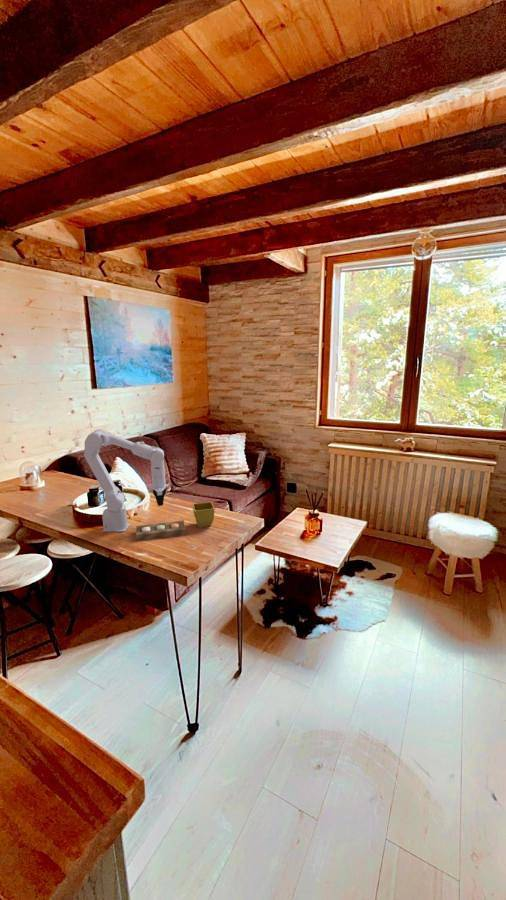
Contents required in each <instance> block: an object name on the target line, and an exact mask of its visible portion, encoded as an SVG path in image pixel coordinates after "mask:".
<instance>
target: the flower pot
mask: <svg viewBox="0 0 506 900" xmlns="http://www.w3.org/2000/svg"><path fill="white" fill-rule="evenodd" d="M215 509H216V508H215V507H214V504H213V502H212V501H205V502H197V503H192V510H193V515H194V518H195V522H196V524H197V526H198V527H199V528H204V527H210V526H212V524H213V523H214V518H215Z"/></svg>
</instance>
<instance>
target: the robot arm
mask: <svg viewBox="0 0 506 900" xmlns="http://www.w3.org/2000/svg"><path fill="white" fill-rule="evenodd" d="M83 443H84V451H83V456H84V459H85V460H86V462H87V464H88V466H89V468H90V469H91V471H92V473H93V475H94V477H95V479H96V480H97V483H98V484H99V485H100V487H101V489H102V491H103V493H104V500H105V502H106V507H107V508H105V509H104V510H103V512H102V524H103V530H102V532H107V533H108V532H111V533H113V532H116V533H117V532H118V533H122V532H123V533H124V532H126V531H127V529H129V527H130V525H131V523H130V522H128V520H127V519H128V518H127V508H126V507H127V506H126V505H125V504H124V503H125V501H126V495H125V493H123V492H122V491H121V490H120V488H119V487H118V486H116V484H115V483H114V480H113V479H112V478H111V475H110V473H109V472H108V470H107V468H106V466H105V464H104V462H103V461H102V460H103V459H101V457H100V455H99V453H100V450H101V447H103V446H104V447H107V446H111V445H114V446H117V447H121V448H123V449H126V450H129V451H131V452H132V454H133V455H135V456H138V457H140V458H142V459H146V460H149V462H150V464H151V466H150V470H151V471H150V473H151V485H152V486H151V488H152V494H153V496H154V498H155V500H156V504H157V507H162V506H163V505H164V502H165V501H164V500H165V495H166V493H167V488H169V487H170V486H169V483H166V469H165V467H166V466H165V461H164V460H165V459H164V458H165V451H164V450H163V449H162V448H160V447H158V446H157V447H156V446H153V445H152V446H151V445H149V444H146V443H145V442H144V441H136V442H133V441H130V440H129V439H125V438H122V437H121V436H119V435H116V434H114V433H111V432H109V431H106V430H103V429H95V430H93V432H91V433H89V434H88V435H87V437H86V438H85V440H84V442H83Z"/></svg>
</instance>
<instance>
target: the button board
mask: <svg viewBox="0 0 506 900" xmlns="http://www.w3.org/2000/svg"><path fill="white" fill-rule="evenodd" d="M174 523H177V524H179V528H172V529H171V524H174ZM158 525H164V526H165V529H163V530H156V527H157V526H158ZM135 527H136V528H135V539H136V540H135V541H137V542H138V541H145V540H146V541H147V540H152V539H153V540H154V539H162V538H170V537H171V538H172V537H177V536H185V535H186V526H185V522H184V520H180V521H179V520H178V521H170V522H162V523H161V522H160V523H159V522H158V523H153V524H152V523H151V524H143V525H142V524H141V525H136V526H135ZM143 527H150V530H151V531H146V532H142V528H143Z"/></svg>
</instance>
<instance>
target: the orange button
mask: <svg viewBox="0 0 506 900" xmlns="http://www.w3.org/2000/svg"><path fill="white" fill-rule="evenodd" d="M172 528H179V524H177V523H174V524H171V529H172Z"/></svg>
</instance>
